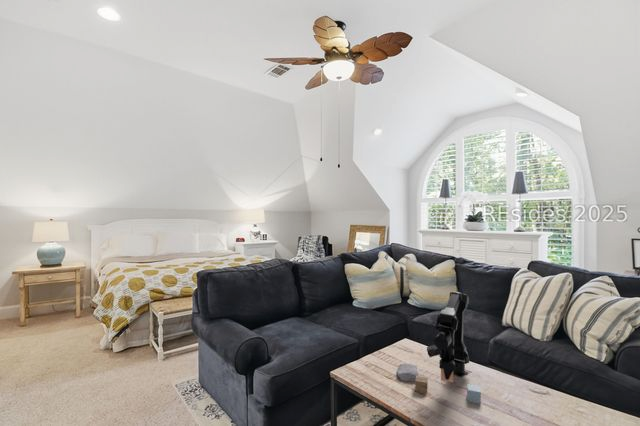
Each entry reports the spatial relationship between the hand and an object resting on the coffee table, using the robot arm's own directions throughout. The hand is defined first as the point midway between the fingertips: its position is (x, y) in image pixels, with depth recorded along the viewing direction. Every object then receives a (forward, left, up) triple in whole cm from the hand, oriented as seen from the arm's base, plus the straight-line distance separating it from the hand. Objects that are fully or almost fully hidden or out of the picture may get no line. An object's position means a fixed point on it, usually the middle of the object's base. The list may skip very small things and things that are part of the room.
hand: (446, 376), depth 146 cm
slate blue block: (-6, +9, -8) cm, 14 cm away
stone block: (+1, -21, -8) cm, 23 cm away
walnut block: (+6, -9, -8) cm, 14 cm away
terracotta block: (0, 0, -1) cm, 1 cm away
